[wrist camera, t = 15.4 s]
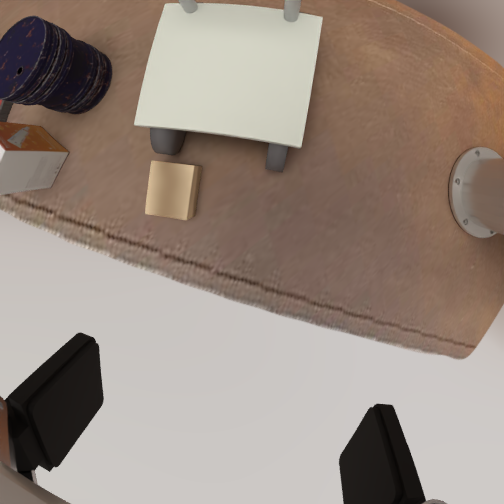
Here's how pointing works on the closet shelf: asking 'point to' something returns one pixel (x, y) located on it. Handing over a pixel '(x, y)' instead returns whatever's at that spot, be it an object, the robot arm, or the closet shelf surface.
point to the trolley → (230, 75)
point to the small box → (28, 158)
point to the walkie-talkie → (4, 110)
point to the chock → (173, 190)
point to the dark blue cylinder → (51, 68)
